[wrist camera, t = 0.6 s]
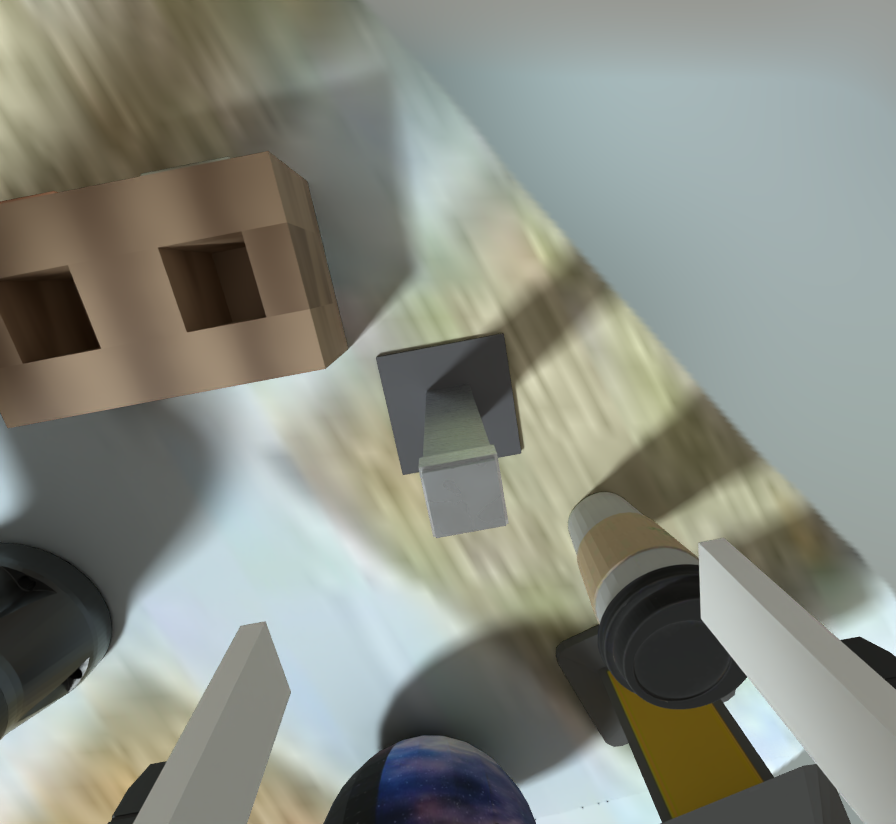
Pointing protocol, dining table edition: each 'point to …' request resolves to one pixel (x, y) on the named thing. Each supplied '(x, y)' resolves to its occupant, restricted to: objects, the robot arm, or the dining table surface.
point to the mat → (444, 368)
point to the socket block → (161, 288)
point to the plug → (459, 466)
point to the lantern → (695, 754)
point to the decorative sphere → (430, 787)
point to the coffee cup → (648, 607)
